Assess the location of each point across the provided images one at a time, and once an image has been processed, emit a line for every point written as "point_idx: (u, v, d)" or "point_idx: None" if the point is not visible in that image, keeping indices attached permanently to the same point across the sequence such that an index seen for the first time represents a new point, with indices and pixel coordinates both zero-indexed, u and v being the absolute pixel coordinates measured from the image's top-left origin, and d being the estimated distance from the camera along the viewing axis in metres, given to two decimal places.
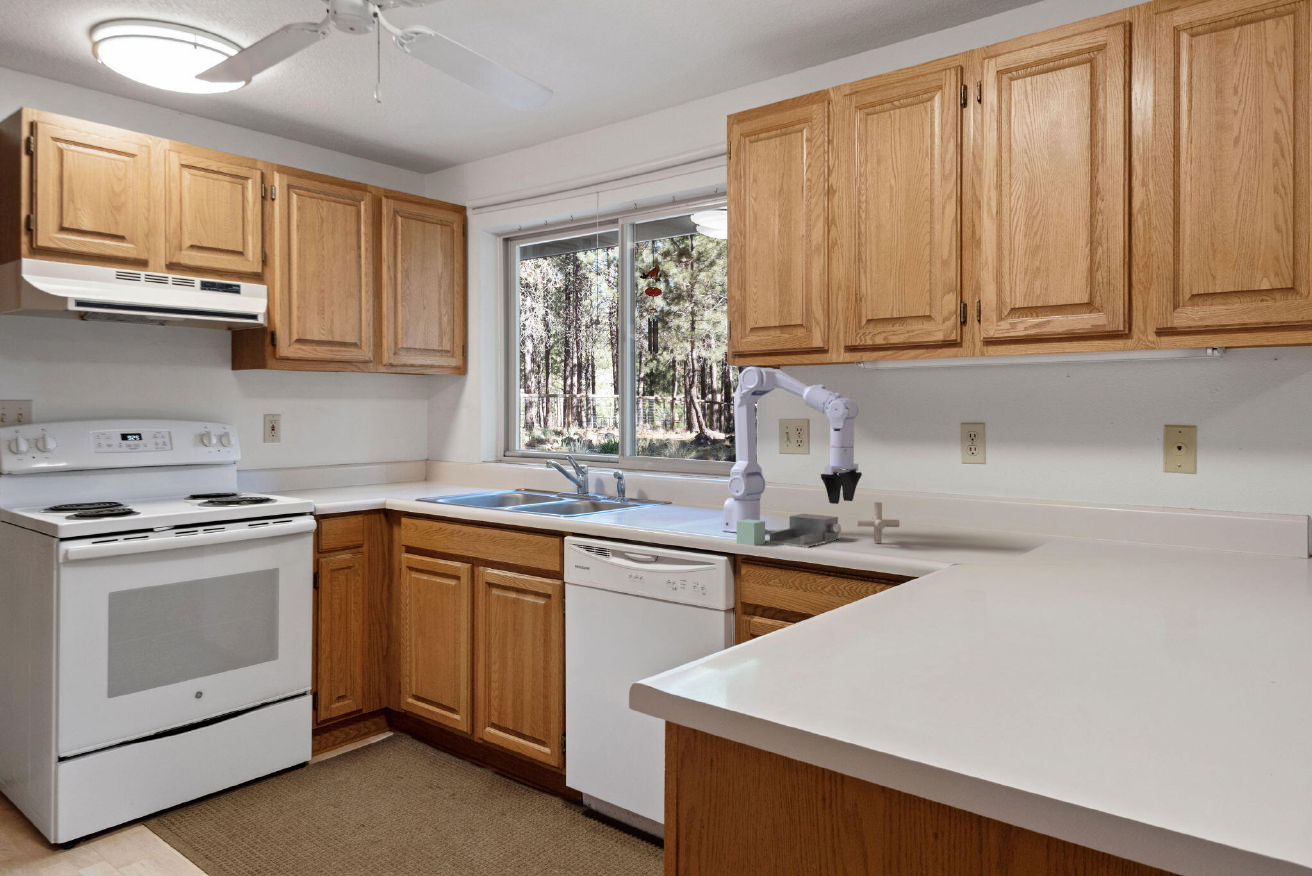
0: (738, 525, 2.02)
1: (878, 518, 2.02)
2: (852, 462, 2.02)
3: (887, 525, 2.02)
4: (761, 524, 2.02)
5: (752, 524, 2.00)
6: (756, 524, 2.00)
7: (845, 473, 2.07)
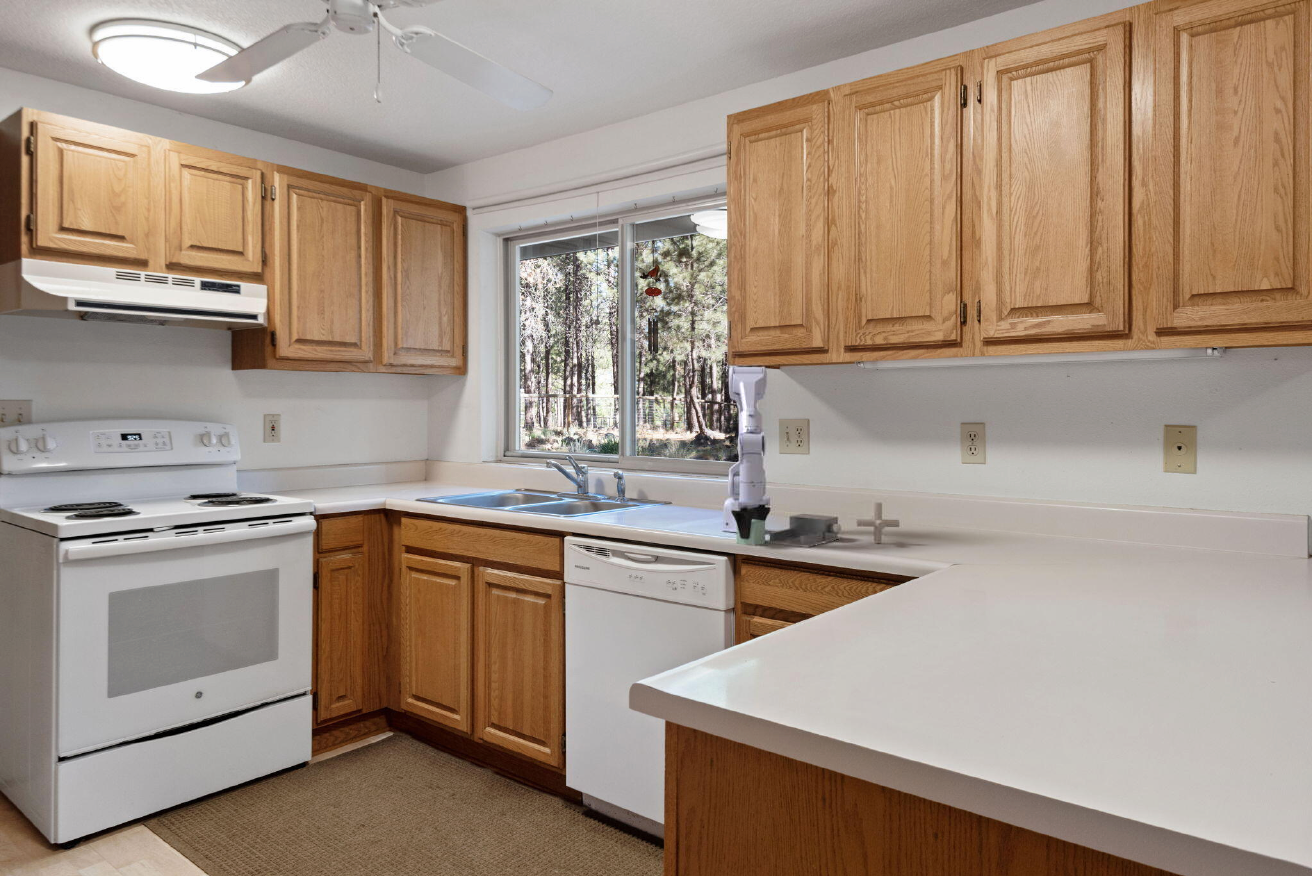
0: None
1: (878, 518, 2.02)
2: (761, 497, 2.01)
3: (887, 525, 2.02)
4: (761, 524, 2.02)
5: (752, 524, 2.00)
6: (756, 524, 2.00)
7: (754, 508, 2.05)
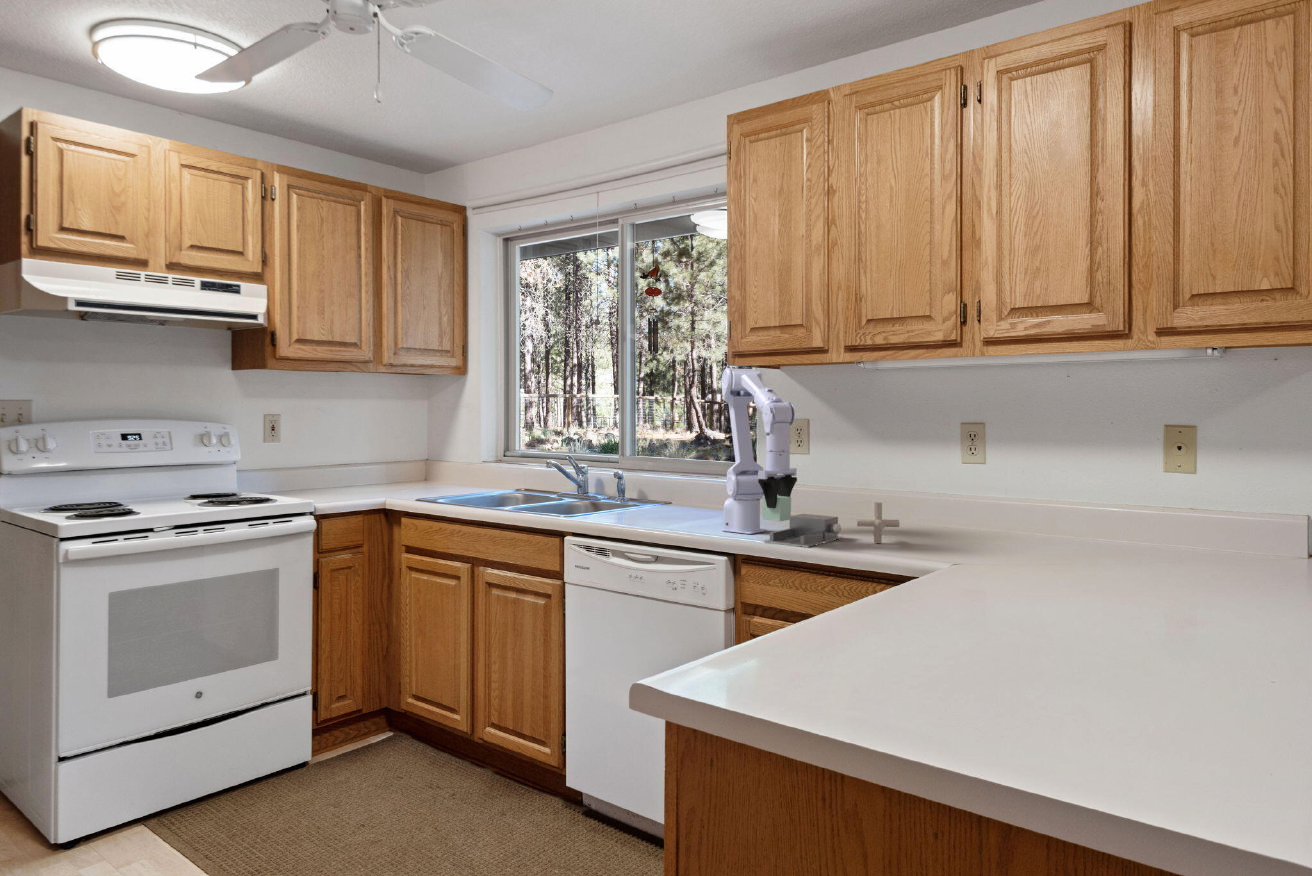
0: (764, 501, 2.02)
1: (878, 518, 2.02)
2: (788, 467, 2.01)
3: (887, 525, 2.02)
4: (787, 500, 2.02)
5: (778, 500, 1.99)
6: (782, 500, 2.00)
7: (780, 478, 2.05)
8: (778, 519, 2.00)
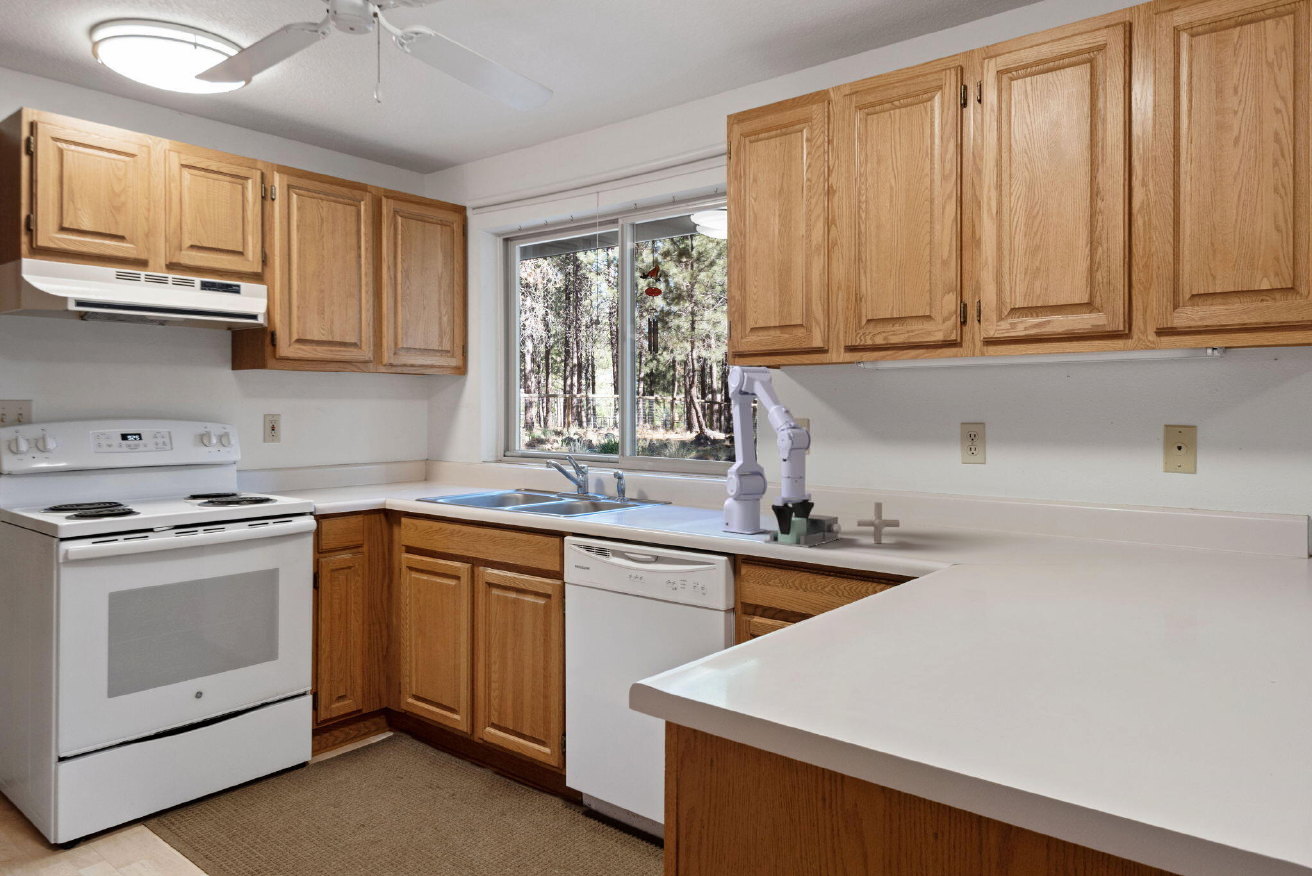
0: None
1: (878, 518, 2.02)
2: (803, 493, 2.01)
3: (887, 525, 2.02)
4: (802, 522, 2.02)
5: (794, 522, 2.00)
6: (798, 522, 2.00)
7: (797, 503, 2.06)
8: (794, 541, 2.00)
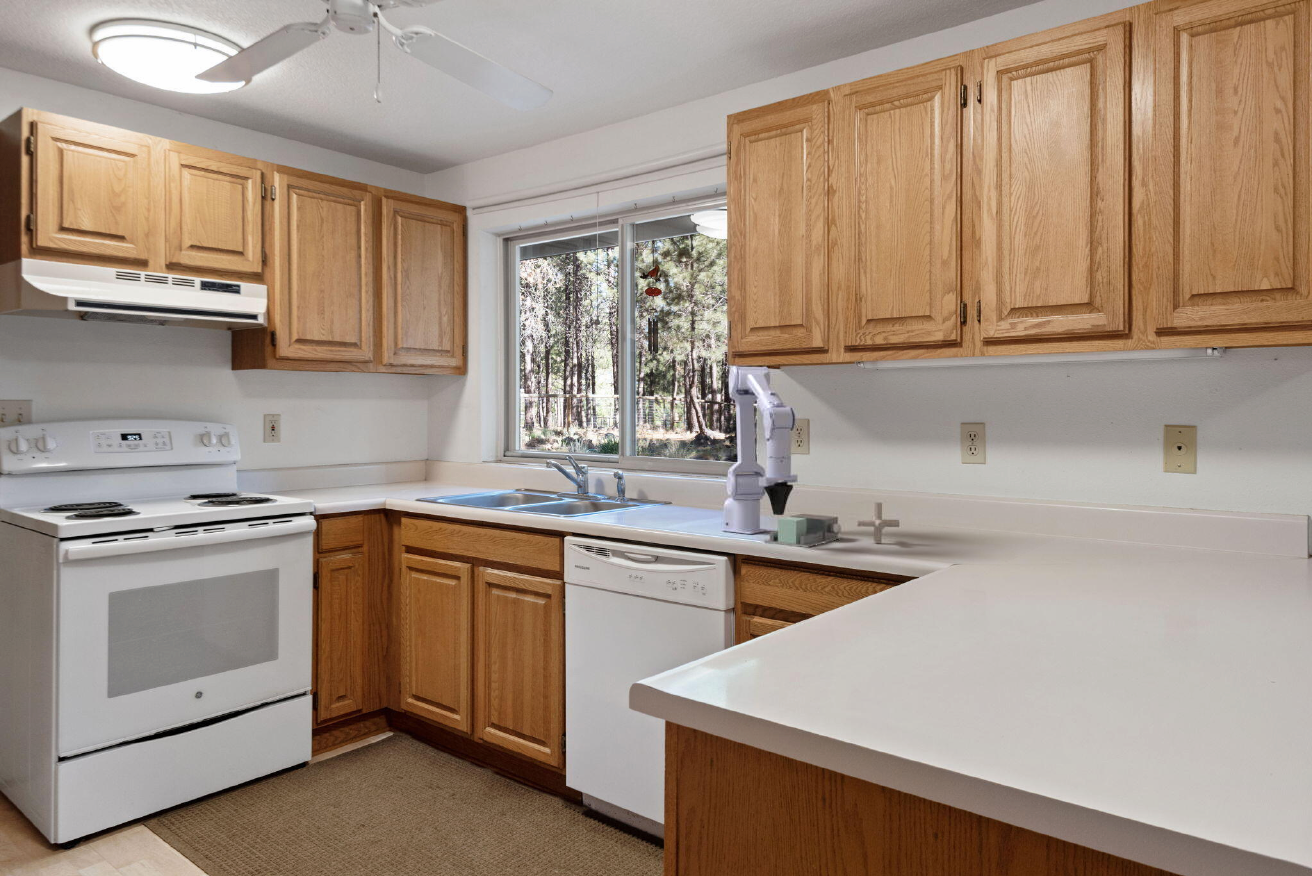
0: (779, 523, 2.02)
1: (878, 518, 2.02)
2: (789, 473, 1.95)
3: (887, 525, 2.02)
4: (802, 522, 2.02)
5: (794, 522, 2.00)
6: (798, 522, 2.00)
7: None
8: (794, 541, 2.00)
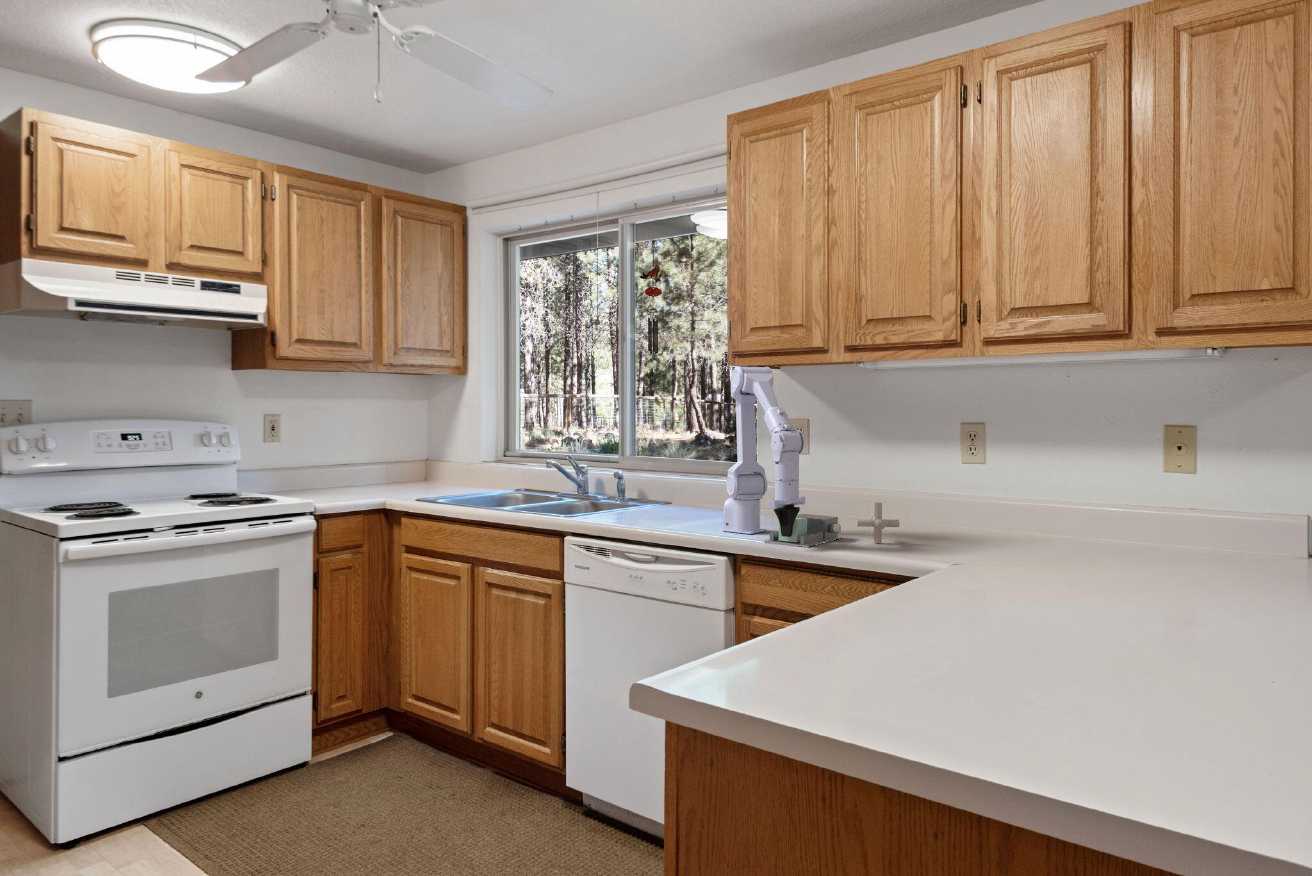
0: None
1: (878, 518, 2.02)
2: (797, 496, 1.98)
3: (887, 525, 2.02)
4: (803, 521, 2.02)
5: (795, 520, 2.00)
6: (799, 521, 2.01)
7: None
8: (795, 540, 2.00)
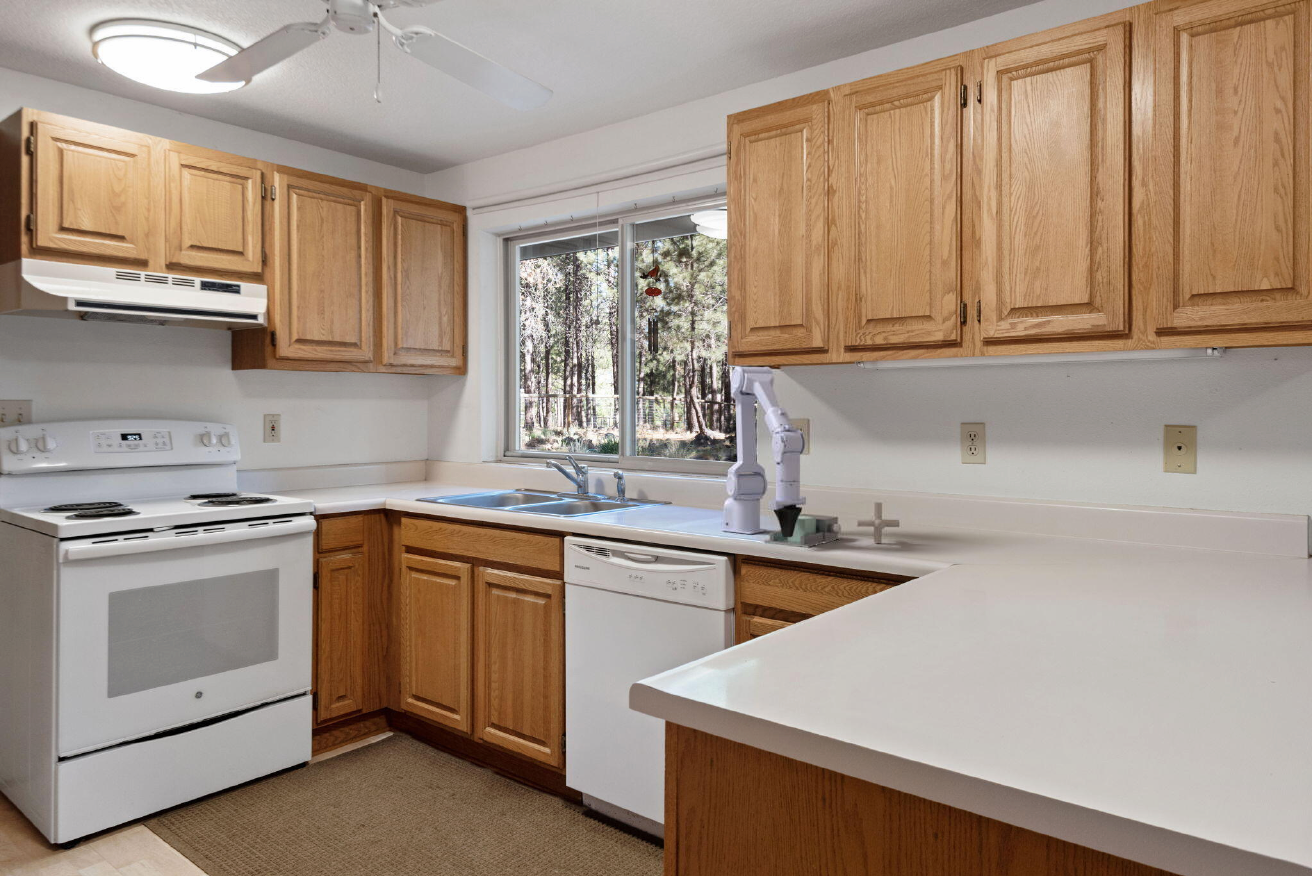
0: None
1: (878, 518, 2.02)
2: (798, 496, 1.99)
3: (887, 525, 2.02)
4: (812, 520, 2.04)
5: (803, 520, 2.02)
6: (807, 520, 2.03)
7: None
8: None
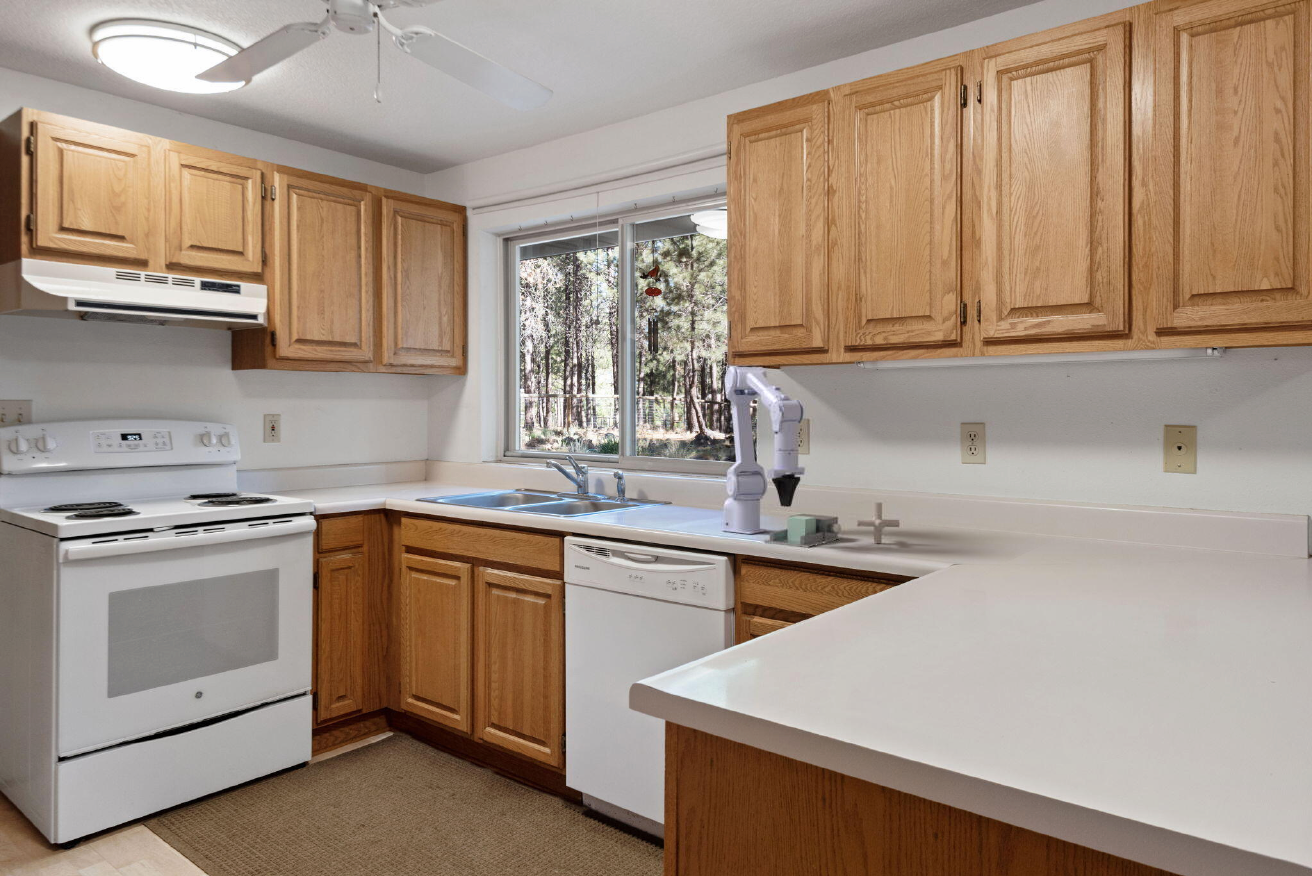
0: (789, 521, 2.05)
1: (878, 518, 2.02)
2: (796, 466, 1.98)
3: (887, 525, 2.02)
4: (812, 520, 2.04)
5: (803, 520, 2.02)
6: (807, 520, 2.03)
7: None
8: None
